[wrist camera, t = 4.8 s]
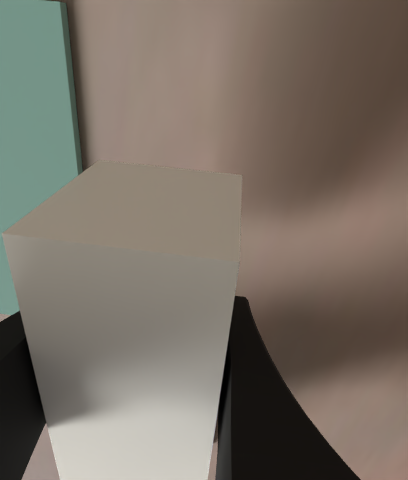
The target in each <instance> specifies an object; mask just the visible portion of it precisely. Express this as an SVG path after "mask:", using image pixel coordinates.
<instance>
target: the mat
mask: <svg viewBox="0 0 408 480" xmlns="http://www.w3.org/2000/svg"><path fill="white" fill-rule="evenodd" d="M82 172H83V169H82V159H81V149H80V139H79V128H78V118H77V108H76V98H75V88H74V78H73V68H72V57H71V47H70V37H69V27H68V17H67V7H66V3H63V2H58V1H45V0H0V313H1V314H8V315H13V314H15V313H16V312H18V311H20V309H19V305H18V300H17V296H16V292H15V288H14V284H13V279H12V275H11V271H10V267H9V262H8V258H7V254H6V250H5V246H4V241H3V237H2V233H3V232H4V231H6V230H7V229H8V228H10V227H11V226H12V225H14V224H15V223H16V222H18V221H19V220H20V219H22V218H23V217H24V216H26V215H27V214H28V213H30V212H31V211H32V210H33V209H35V208H36V207H37V206H39V205H40V204H41V203H43V202H44V201H45V200H47V199H48V198H49V197H51V196H52V195H53V194H55V193H56V192H57V191H59V190H60V189H61V188H63V187H64V186H65V185H66V184H68V183H69V182H70V181H72V180H73V179H74V178H76V177H77V176H78V175H80V174H81V173H82Z"/></svg>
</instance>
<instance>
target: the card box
mask: <svg viewBox="0 0 408 480" xmlns="http://www.w3.org/2000/svg"><path fill="white" fill-rule="evenodd" d="M241 200H242V175H237V174H228V173H219V172H209V171H200V170H190V169H181V168H172V167H162V166H153V165H143V164H134V163H125V162H115V161H106V160H98V161H97V162H96V163H94V164H93V165H92V166H90V167H89V168H88V169H86V170H85V171H84V172H82V173H81V174H80V175H78V176H77V177H76V178H74V179H73V180H72V181H70V182H69V183H68V184H66V185H65V186H64V187H63V188H61V189H60V190H59V191H57V192H56V193H55V194H53V195H52V196H51V197H49V198H48V199H47V200H45V201H44V202H43V203H41V204H40V205H39V206H37V207H36V208H35V209H33V210H32V211H31V212H30V213H28V214H27V215H26V216H24V217H23V218H22V219H20V220H19V221H18V222H16V223H15V224H14V225H12V226H11V227H10V228H8V229H7V230H6V231H4V232H3V233H2V237H3V241H4V246H5V250H6V254H7V258H8V262H9V267H10V271H11V275H12V279H13V284H14V288H15V292H16V296H17V300H18V305H19V309H20V313H21V317H22V321H23V326H24V330H25V334H26V338H27V343H28V347H29V351H30V355H31V359H32V364H33V368H34V372H35V376H36V380H37V385H38V389H39V393H40V397H41V402H42V406H43V410H44V414H45V418H46V423H47V427H48V431H49V435H50V440H51V444H52V448H53V452H54V456H55V461H56V465H57V469H58V473H59V477H60V480H207V478H208V472H209V465H210V458H211V452H212V445H213V438H214V431H215V425H216V418H217V411H218V405H219V398H220V391H221V385H222V378H223V371H224V364H225V358H226V351H227V344H228V338H229V331H230V324H231V318H232V311H233V304H234V297H235V291H236V284H237V277H238V271H239V264H240V236H241Z"/></svg>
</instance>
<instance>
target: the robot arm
mask: <svg viewBox="0 0 408 480" xmlns="http://www.w3.org/2000/svg"><path fill="white" fill-rule="evenodd" d="M217 414H218V454H217V466H216V479H215V480H360V478H359V477H358V476H357V475H356V474H355V473H354V472H353V471H352V470H351V469H350V468H349V467H348V466H347V464H346V463H345V462H344V461H343V460H342V459H341V457H340V456H339V455H338V454H337V453H336V452H335V450H334V449H333V448H332V447H331V446H330V445H329V443H328V442H327V441H326V439H325V438H324V437H323V436H322V434H321V433H320V432H319V430H318V429H317V428H316V427H315V425H314V424H313V423H312V421H311V420H310V419H309V418H308V416H307V415H306V414H305V412H304V411H303V409H302V408H301V406H300V405H299V404H298V402H297V401H296V399H295V398H294V396H293V395H292V393H291V391H290V390H289V388H288V387H287V385H286V384H285V382H284V380H283V379H282V377H281V375H280V373H279V372H278V370H277V368H276V366H275V364H274V363H273V361H272V359H271V357H270V355H269V353H268V351H267V349H266V347H265V345H264V342H263V340H262V338H261V336H260V334H259V331H258V329H257V327H256V324H255V321H254V319H253V316H252V313H251V310H250V306H249V302H248V300H247V299H246V297H240V296H235V297H234V304H233V311H232V318H231V324H230V331H229V338H228V344H227V351H226V358H225V364H224V371H223V378H222V385H221V391H220V398H219V405H218V411H217ZM216 421H217V418H216ZM45 424H46V418H45V414H44V410H43V406H42V402H41V397H40V393H39V389H38V385H37V380H36V376H35V372H34V368H33V364H32V359H31V355H30V351H29V347H28V343H27V338H26V334H25V330H24V326H23V321H22V317H21V313H20V311H18V312H16V313H15V314H13V315H11V316H10V317H8V318H6V319H4V320H3V321H1V322H0V480H21V479H22V477H23V474H24V472H25V469H26V467H27V465H28V462H29V460H30V457H31V455H32V453H33V451H34V448H35V446H36V444H37V441H38V439H39V437H40V435H41V432H42V430H43V428H44V426H45ZM215 427H216V425H215ZM214 434H215V431H214ZM213 441H214V438H213ZM212 447H213V445H212Z"/></svg>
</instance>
